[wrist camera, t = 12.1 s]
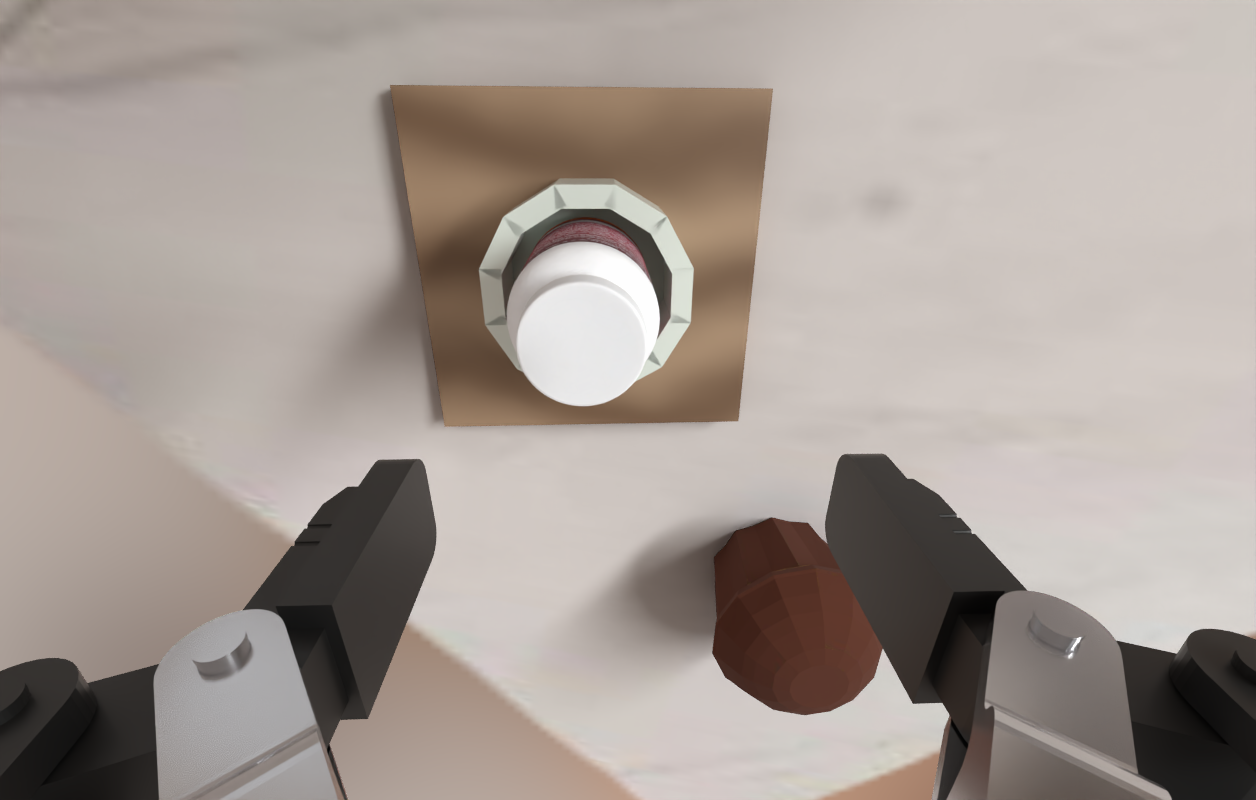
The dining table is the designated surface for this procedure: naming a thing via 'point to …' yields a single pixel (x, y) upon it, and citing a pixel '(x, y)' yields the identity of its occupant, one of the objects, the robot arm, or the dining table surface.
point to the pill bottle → (583, 312)
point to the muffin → (790, 620)
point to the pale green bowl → (603, 202)
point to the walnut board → (584, 148)
